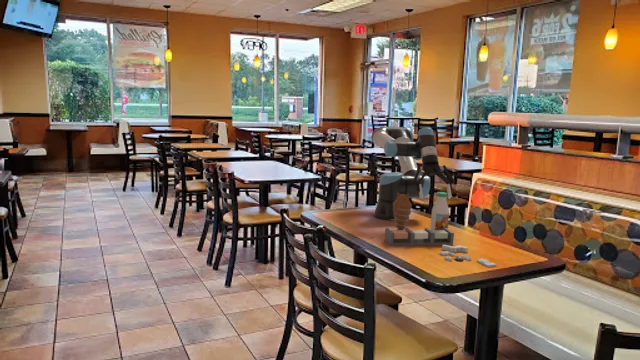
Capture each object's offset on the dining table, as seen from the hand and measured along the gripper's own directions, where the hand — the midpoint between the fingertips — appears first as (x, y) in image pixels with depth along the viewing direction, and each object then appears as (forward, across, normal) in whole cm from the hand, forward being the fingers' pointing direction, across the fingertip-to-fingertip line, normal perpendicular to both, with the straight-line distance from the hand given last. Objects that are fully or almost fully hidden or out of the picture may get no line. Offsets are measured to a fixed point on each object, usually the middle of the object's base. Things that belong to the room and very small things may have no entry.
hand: (435, 198), depth 218 cm
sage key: (+21, -4, -7) cm, 22 cm away
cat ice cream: (+12, -16, +11) cm, 22 cm away
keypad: (+23, -13, -6) cm, 27 cm away
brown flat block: (+21, -22, -8) cm, 31 cm away
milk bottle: (+17, 0, +5) cm, 17 cm away
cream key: (+21, -13, -8) cm, 26 cm away
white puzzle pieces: (+35, -3, -21) cm, 41 cm away
